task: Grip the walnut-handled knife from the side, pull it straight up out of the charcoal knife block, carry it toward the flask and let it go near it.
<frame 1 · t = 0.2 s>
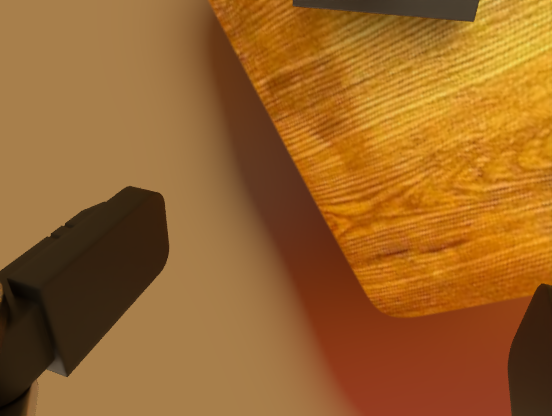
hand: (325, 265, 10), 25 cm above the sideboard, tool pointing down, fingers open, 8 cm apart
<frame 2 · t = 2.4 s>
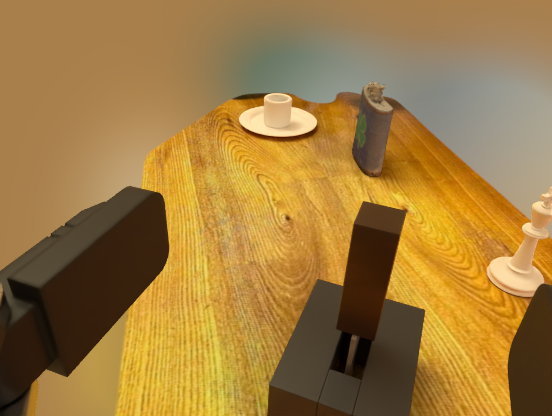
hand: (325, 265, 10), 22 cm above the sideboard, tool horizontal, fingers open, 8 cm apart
knife block: (344, 390, 33), on the sideboard
knife: (360, 316, 28), in the knife block
flask: (364, 161, 63), on the sideboard
candle holder: (277, 125, 71), on the sideboard
chess piece: (513, 280, 43), on the sideboard
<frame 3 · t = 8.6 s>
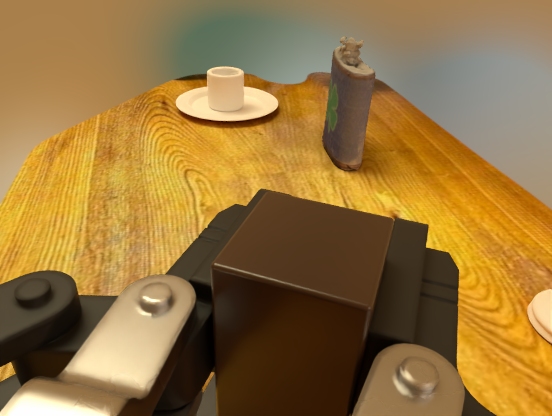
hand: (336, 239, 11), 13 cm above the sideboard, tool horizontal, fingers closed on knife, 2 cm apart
flask: (339, 151, 46), on the sideboard
candle holder: (227, 109, 55), on the sideboard
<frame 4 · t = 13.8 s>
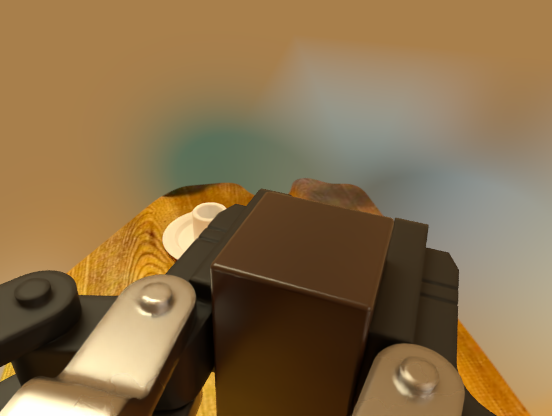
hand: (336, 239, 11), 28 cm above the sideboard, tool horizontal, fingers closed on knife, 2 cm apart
candle holder: (212, 241, 57), on the sideboard
when the fingers open (13 cm above the sideboard, at t = 19.1 s): knife stays where it is, on the sideboard.
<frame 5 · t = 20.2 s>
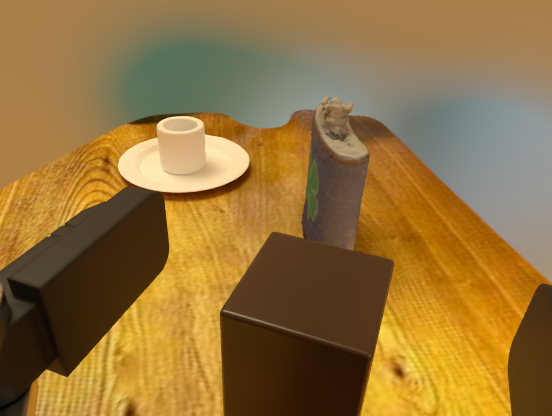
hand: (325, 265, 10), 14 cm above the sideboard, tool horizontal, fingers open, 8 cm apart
flask: (323, 239, 35), on the sideboard
candle holder: (185, 168, 43), on the sideboard
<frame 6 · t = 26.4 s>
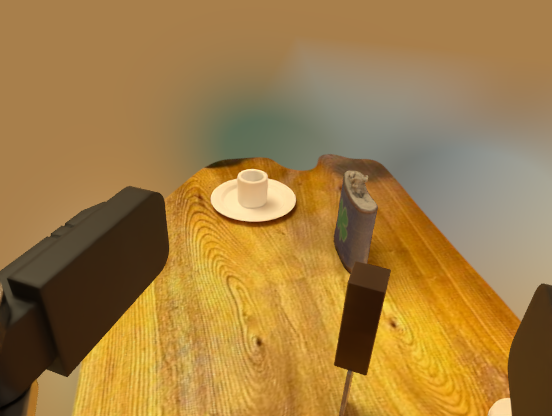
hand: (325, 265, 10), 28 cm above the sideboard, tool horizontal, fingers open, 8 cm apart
knife: (354, 353, 34), on the sideboard
flask: (348, 252, 57), on the sideboard
candle holder: (253, 203, 65), on the sideboard
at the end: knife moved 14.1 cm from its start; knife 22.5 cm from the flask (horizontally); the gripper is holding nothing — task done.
